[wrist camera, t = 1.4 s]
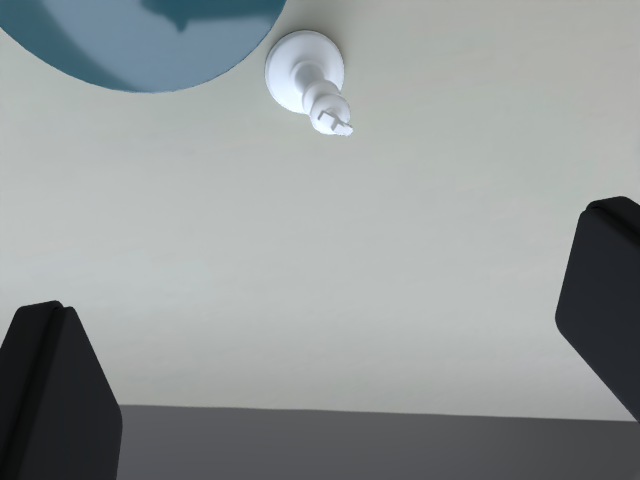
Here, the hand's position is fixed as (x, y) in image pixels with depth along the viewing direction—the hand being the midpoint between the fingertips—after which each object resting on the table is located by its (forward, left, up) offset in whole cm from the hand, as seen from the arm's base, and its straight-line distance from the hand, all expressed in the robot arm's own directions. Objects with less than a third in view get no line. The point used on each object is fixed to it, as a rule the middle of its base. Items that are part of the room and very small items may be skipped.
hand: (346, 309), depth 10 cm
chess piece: (-3, +3, -25) cm, 25 cm away
